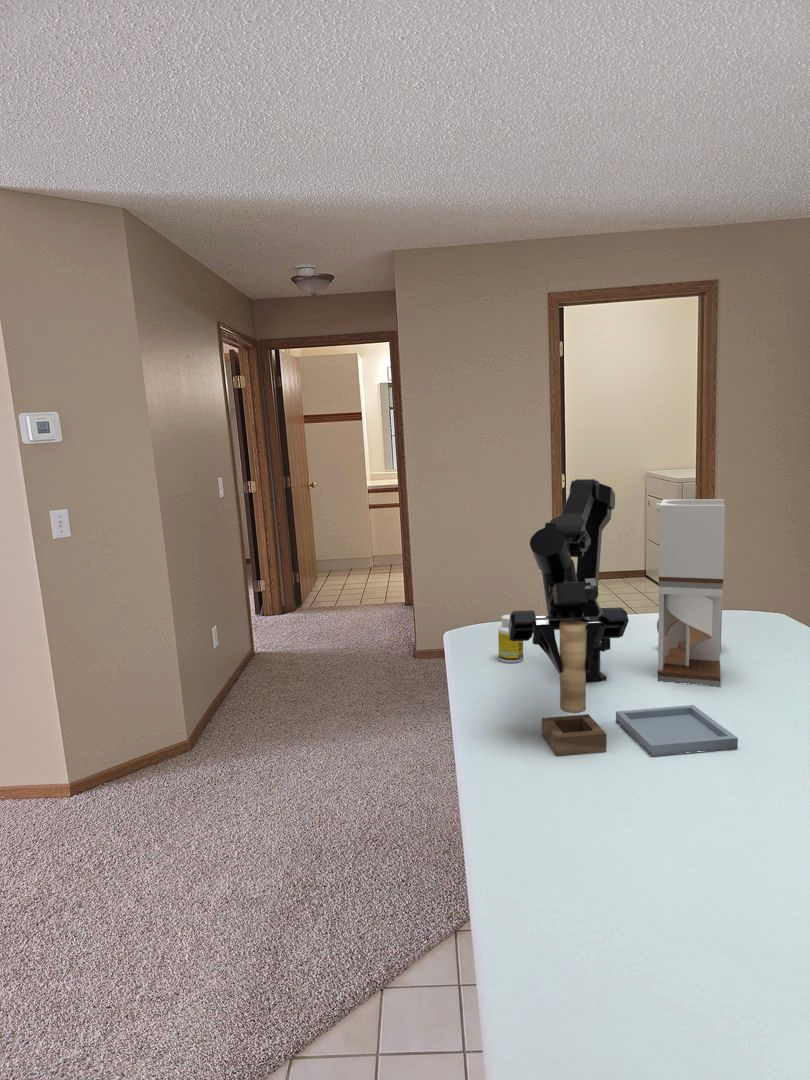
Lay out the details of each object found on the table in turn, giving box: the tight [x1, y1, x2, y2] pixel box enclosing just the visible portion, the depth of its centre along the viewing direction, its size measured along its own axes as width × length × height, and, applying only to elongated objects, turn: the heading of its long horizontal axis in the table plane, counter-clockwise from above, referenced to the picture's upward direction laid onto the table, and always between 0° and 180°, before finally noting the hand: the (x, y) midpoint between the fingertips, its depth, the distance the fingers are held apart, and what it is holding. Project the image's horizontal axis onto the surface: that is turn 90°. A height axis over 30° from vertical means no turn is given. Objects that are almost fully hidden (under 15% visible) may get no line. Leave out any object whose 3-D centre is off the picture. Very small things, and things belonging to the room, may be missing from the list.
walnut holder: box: [541, 713, 607, 757], centre depth 119 cm, size 8×8×3 cm
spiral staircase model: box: [657, 498, 726, 688], centre depth 145 cm, size 11×11×35 cm
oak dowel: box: [559, 620, 587, 714], centre depth 117 cm, size 4×4×14 cm
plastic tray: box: [615, 704, 739, 757], centre depth 121 cm, size 14×14×2 cm
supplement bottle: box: [497, 614, 524, 664], centre depth 162 cm, size 5×5×10 cm
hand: (574, 671), depth 116 cm, fingers closed on oak dowel, 4 cm apart
